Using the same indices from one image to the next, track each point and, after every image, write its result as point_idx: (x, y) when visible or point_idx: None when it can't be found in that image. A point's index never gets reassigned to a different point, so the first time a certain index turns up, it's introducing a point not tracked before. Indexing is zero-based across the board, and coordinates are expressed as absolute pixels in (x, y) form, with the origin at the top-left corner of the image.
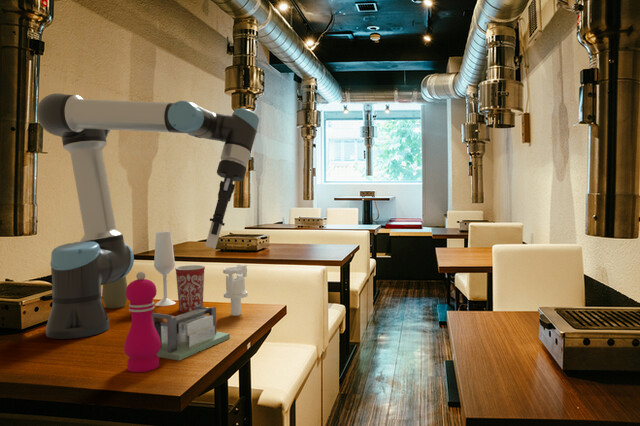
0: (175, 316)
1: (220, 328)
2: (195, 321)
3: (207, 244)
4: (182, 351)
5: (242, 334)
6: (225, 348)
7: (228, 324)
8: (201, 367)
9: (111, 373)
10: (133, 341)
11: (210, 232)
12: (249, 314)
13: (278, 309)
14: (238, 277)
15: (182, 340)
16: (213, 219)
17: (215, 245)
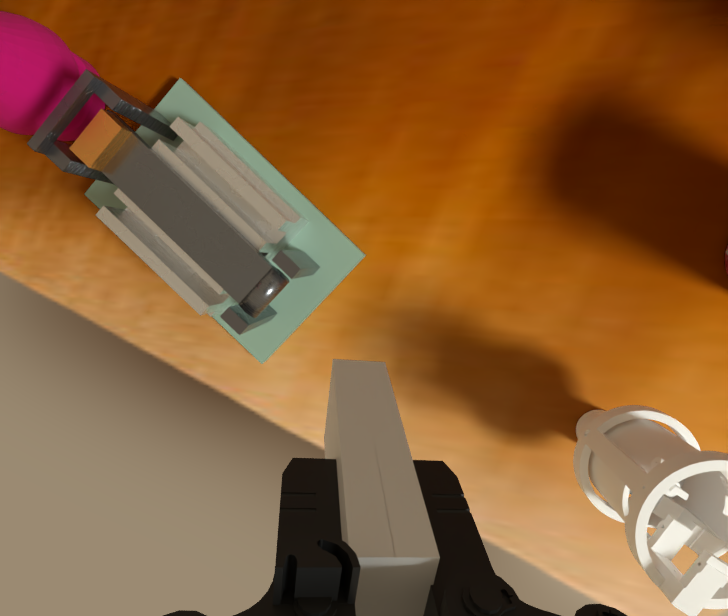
0: (172, 170)
1: (402, 345)
2: (130, 246)
3: (332, 381)
4: (114, 204)
5: (299, 406)
6: (167, 334)
7: (448, 379)
8: (25, 254)
9: (42, 14)
10: None
11: (338, 457)
12: (575, 479)
13: (614, 602)
14: (722, 526)
15: None
16: (271, 601)
17: (326, 447)
